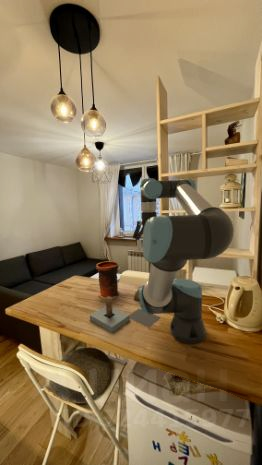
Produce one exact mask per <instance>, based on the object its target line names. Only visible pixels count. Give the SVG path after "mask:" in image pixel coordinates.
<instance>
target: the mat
mask: <svg viewBox="0 0 262 465" xmlns="http://www.w3.org/2000/svg"><path fill="white" fill-rule="evenodd" d="M129 315H130V320H132V321H134V322H137V323H139V324H141V325H143V326H145V327H147V328H150V327H152V326H153V325H154V324H155V323H156V322H157V321H159V320H160V319H161V318H162V317H160V316H158V315H157V314H151V315H148V314H143V313H142V311H141V308H138V309H136V310H135V311H133V312H131V313H129Z"/></svg>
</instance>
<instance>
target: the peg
mask: <svg viewBox="0 0 262 465" xmlns="http://www.w3.org/2000/svg"><path fill="white" fill-rule="evenodd" d="M105 306H106V314H107V318H111V317H112V316H113V312H112V307H113V298H112V297H110V296H109V297H106V299H105Z"/></svg>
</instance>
